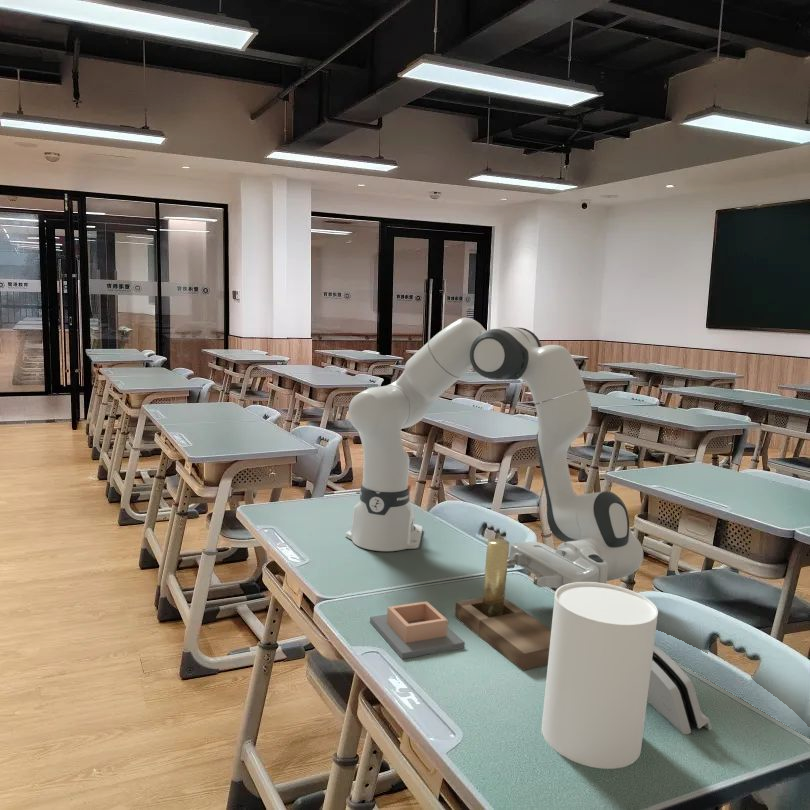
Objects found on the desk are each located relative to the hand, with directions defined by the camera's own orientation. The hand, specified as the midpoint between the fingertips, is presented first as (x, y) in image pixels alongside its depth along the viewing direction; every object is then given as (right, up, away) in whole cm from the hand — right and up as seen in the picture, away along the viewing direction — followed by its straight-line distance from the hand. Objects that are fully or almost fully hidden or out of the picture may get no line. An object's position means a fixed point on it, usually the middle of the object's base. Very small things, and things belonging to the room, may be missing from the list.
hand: (520, 572), depth 131 cm
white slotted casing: (+17, -14, -24) cm, 33 cm away
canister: (+4, -15, -34) cm, 38 cm away
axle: (-6, -9, -2) cm, 11 cm away
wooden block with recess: (-3, -10, -6) cm, 12 cm away
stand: (-20, -9, -8) cm, 23 cm away
